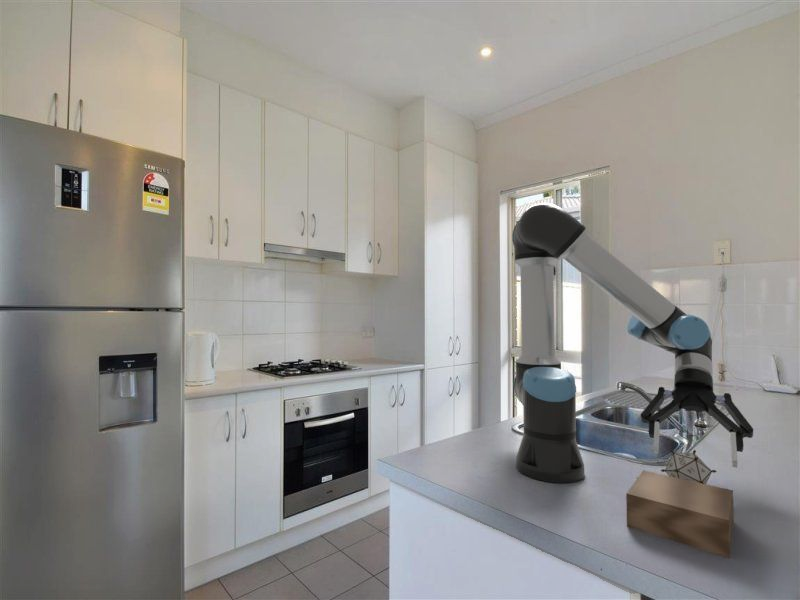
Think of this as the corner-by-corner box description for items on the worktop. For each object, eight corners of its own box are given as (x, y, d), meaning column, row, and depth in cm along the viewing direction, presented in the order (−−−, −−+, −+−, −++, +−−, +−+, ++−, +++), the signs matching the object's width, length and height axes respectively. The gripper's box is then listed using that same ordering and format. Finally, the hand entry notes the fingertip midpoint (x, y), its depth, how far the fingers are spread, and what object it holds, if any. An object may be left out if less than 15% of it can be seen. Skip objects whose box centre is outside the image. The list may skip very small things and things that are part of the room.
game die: (698, 512, 84) (719, 485, 78) (652, 488, 88) (669, 461, 83) (704, 479, 90) (724, 452, 84) (661, 458, 94) (677, 431, 88)
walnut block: (626, 528, 71) (626, 493, 72) (643, 500, 82) (643, 470, 82) (729, 560, 62) (728, 520, 62) (733, 524, 73) (733, 490, 73)
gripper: (760, 391, 94) (771, 479, 81) (635, 380, 109) (628, 453, 96) (762, 371, 90) (774, 460, 77) (632, 362, 104) (624, 436, 92)
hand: (693, 457), depth 87 cm, fingers open, 13 cm apart
